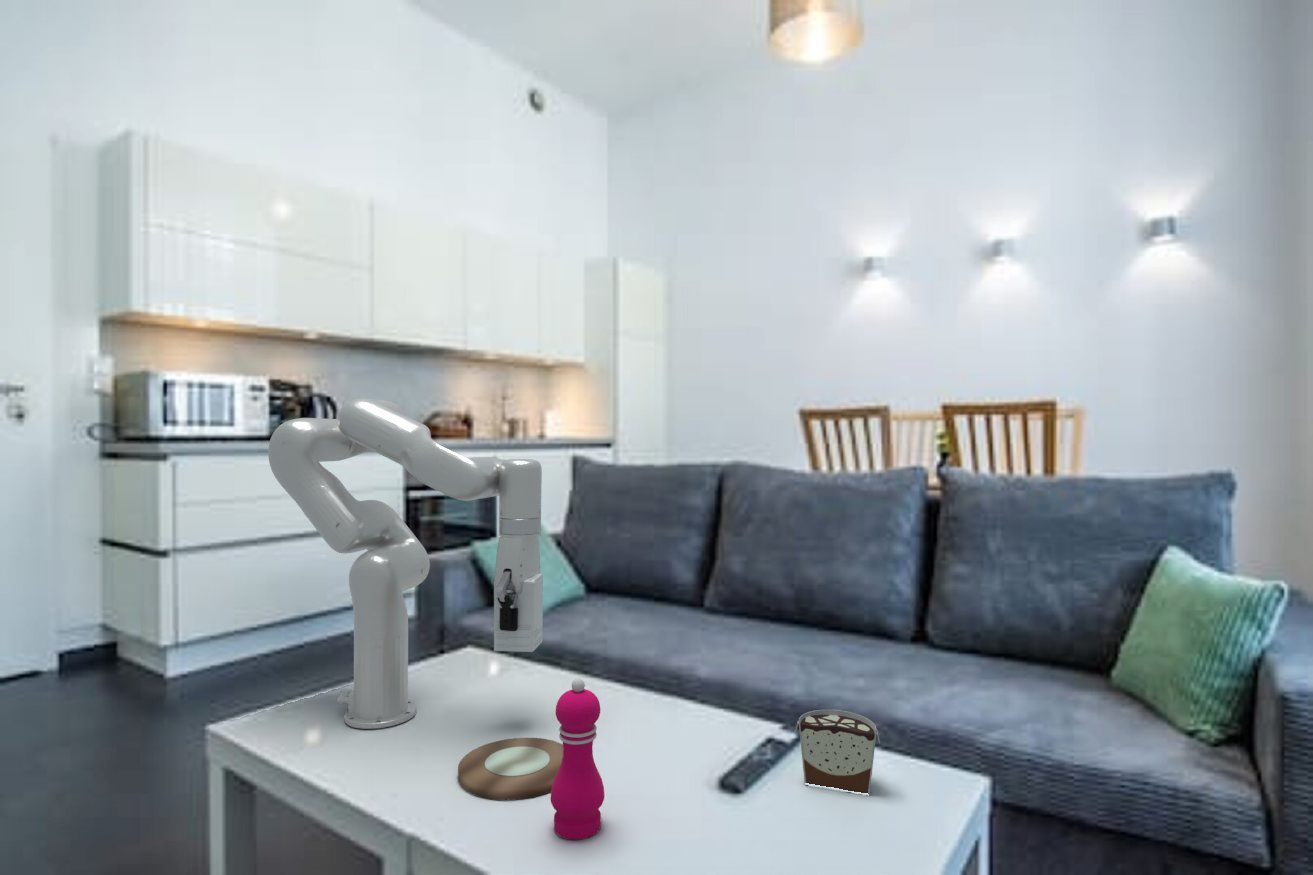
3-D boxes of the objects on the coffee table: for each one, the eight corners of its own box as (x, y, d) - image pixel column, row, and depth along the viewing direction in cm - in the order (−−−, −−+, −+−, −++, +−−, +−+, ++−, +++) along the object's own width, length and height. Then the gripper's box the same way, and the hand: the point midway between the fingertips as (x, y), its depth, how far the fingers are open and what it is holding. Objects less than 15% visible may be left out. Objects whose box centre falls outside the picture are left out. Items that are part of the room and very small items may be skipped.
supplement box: (543, 641, 132) (544, 573, 132) (533, 653, 125) (534, 581, 125) (504, 639, 133) (505, 571, 133) (492, 651, 126) (493, 579, 126)
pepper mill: (552, 814, 99) (552, 670, 99) (604, 812, 100) (604, 669, 100) (548, 843, 92) (549, 688, 92) (604, 841, 93) (605, 687, 93)
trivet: (435, 791, 105) (435, 780, 105) (491, 741, 123) (491, 731, 123) (549, 807, 101) (549, 795, 101) (590, 752, 119) (590, 742, 119)
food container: (881, 778, 110) (881, 714, 110) (879, 797, 104) (880, 729, 104) (800, 766, 114) (800, 703, 114) (794, 783, 108) (795, 718, 108)
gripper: (520, 521, 138) (519, 611, 138) (478, 532, 121) (477, 635, 121) (557, 522, 137) (556, 614, 137) (519, 534, 120) (518, 638, 120)
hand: (518, 623), depth 129 cm, fingers closed on supplement box, 8 cm apart
